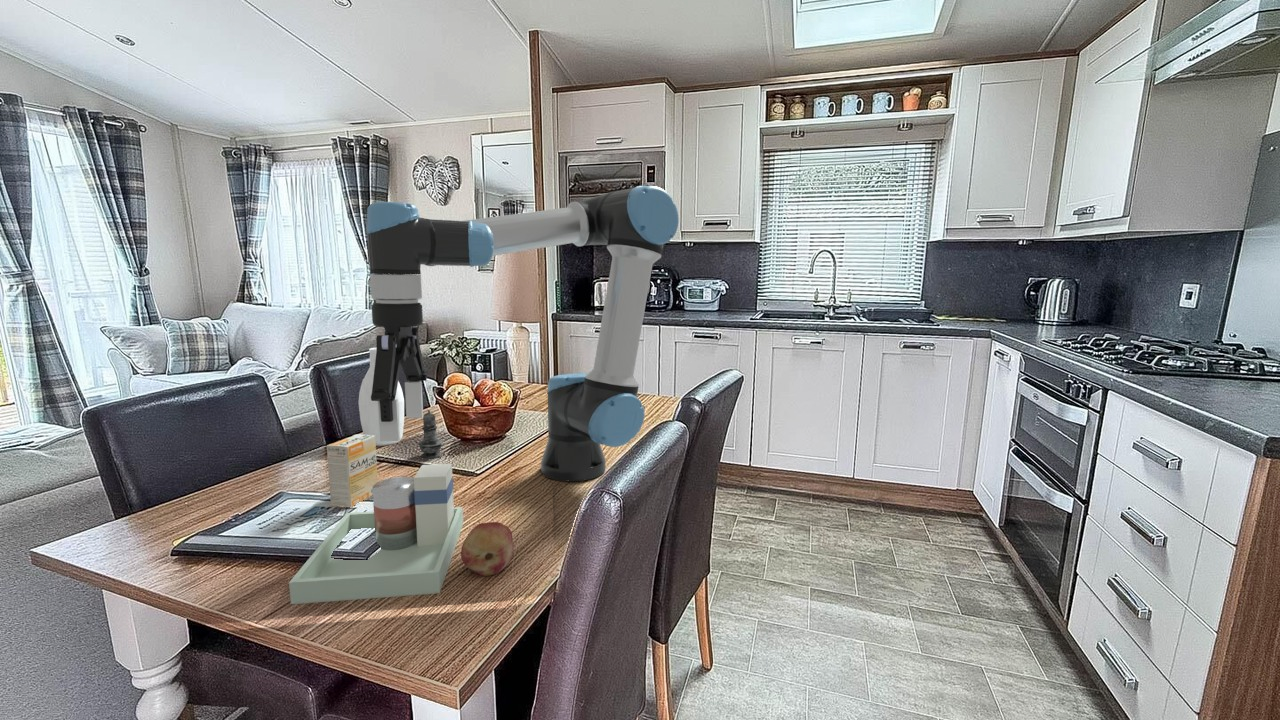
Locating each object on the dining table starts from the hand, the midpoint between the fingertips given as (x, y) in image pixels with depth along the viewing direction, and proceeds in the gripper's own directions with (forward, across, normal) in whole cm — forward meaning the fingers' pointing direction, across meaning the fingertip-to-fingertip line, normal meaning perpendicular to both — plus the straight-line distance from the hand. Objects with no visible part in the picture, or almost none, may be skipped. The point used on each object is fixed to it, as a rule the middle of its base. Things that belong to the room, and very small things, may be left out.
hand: (403, 428), depth 92 cm
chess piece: (+20, -44, -7) cm, 49 cm away
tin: (+19, +2, -1) cm, 19 cm away
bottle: (+20, -58, -23) cm, 65 cm away
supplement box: (+20, -17, -15) cm, 30 cm away
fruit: (+20, +12, +15) cm, 28 cm away
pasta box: (+19, +1, +5) cm, 20 cm away
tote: (+20, +8, -1) cm, 21 cm away
